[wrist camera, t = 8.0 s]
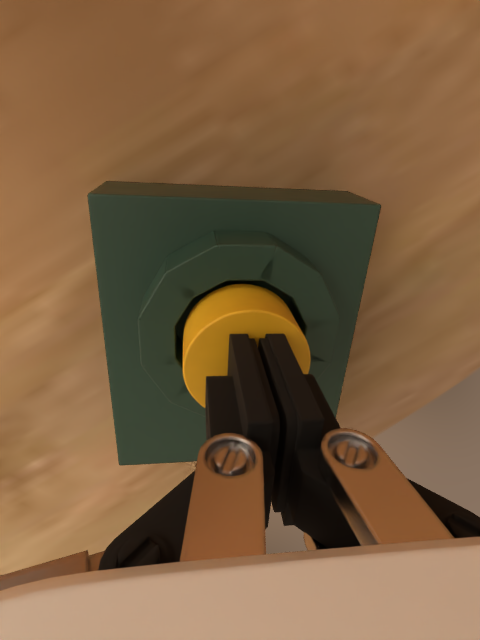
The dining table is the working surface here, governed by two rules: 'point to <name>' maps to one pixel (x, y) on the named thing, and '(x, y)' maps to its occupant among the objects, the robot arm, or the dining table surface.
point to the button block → (211, 274)
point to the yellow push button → (234, 331)
